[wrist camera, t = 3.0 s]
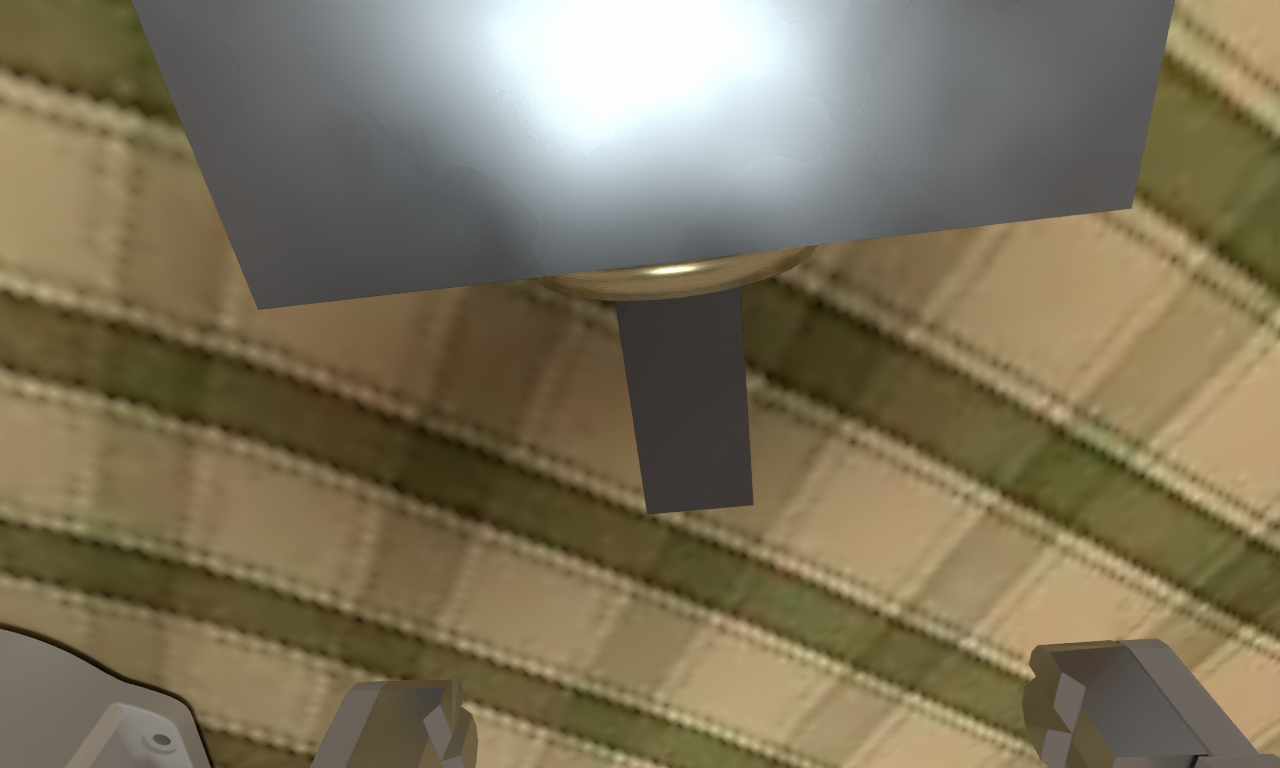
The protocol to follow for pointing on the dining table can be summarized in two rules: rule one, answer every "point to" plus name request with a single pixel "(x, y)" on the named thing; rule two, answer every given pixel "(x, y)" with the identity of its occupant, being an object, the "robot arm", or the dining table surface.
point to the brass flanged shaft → (686, 370)
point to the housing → (639, 127)
